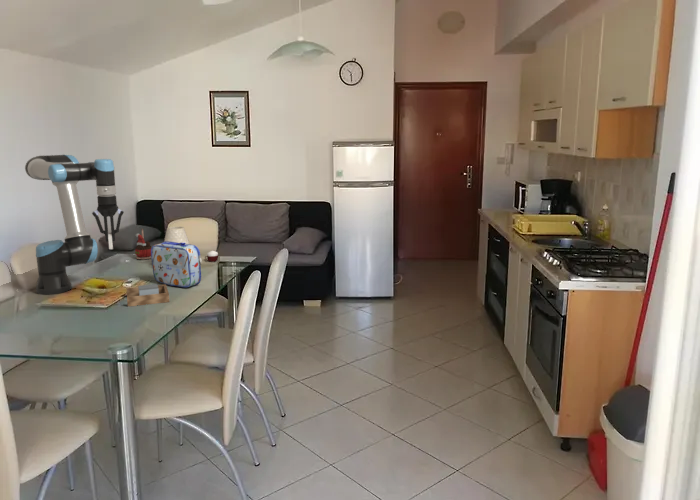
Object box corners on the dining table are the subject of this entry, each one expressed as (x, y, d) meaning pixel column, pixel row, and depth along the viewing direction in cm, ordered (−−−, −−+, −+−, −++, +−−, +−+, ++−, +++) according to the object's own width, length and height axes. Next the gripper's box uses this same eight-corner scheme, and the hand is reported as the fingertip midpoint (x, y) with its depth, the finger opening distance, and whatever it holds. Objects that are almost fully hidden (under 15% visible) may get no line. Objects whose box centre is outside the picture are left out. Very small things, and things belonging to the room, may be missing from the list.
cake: (156, 258, 338) (154, 228, 334) (143, 260, 330) (141, 230, 327) (145, 256, 344) (142, 227, 340) (132, 259, 336) (129, 229, 332)
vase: (189, 273, 301) (186, 230, 296) (157, 273, 301) (153, 230, 296) (198, 265, 318) (196, 225, 313) (168, 265, 318) (165, 225, 313)
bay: (127, 306, 242) (126, 297, 241) (127, 296, 257) (126, 288, 256) (169, 302, 248) (168, 293, 247) (166, 292, 263) (165, 284, 262)
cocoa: (204, 263, 325) (202, 243, 322) (206, 260, 331) (204, 240, 328) (221, 262, 326) (219, 242, 323) (223, 259, 332) (220, 239, 329)
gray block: (140, 302, 249) (139, 289, 248) (139, 298, 254) (138, 285, 253) (159, 300, 252) (158, 287, 251) (158, 296, 257) (157, 283, 256)
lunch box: (207, 285, 275) (204, 241, 271) (192, 290, 266) (189, 245, 262) (166, 279, 288) (163, 236, 284) (150, 283, 279) (147, 240, 275)
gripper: (89, 196, 238) (94, 251, 243) (122, 195, 242) (127, 249, 247) (90, 194, 244) (95, 247, 249) (122, 193, 249) (126, 245, 254)
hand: (111, 248), depth 248 cm, fingers closed
